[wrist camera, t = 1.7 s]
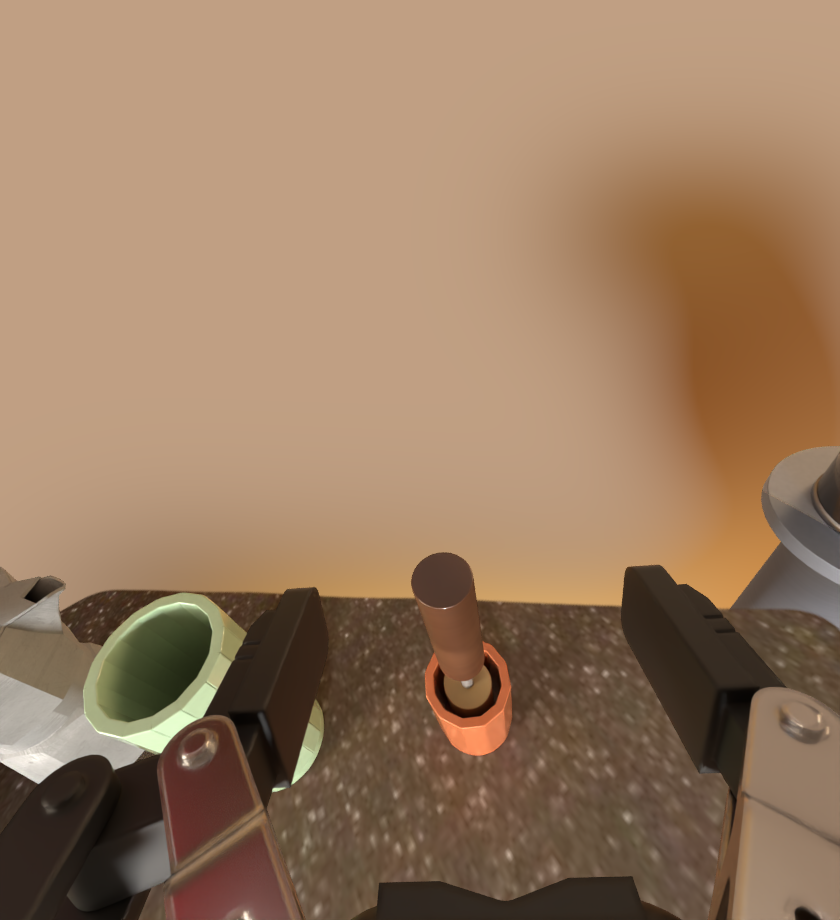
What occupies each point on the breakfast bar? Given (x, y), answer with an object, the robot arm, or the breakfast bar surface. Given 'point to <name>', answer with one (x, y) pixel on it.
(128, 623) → the vase
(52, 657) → the coffeepot
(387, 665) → the breakfast bar surface
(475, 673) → the bottle brush
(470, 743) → the pot
